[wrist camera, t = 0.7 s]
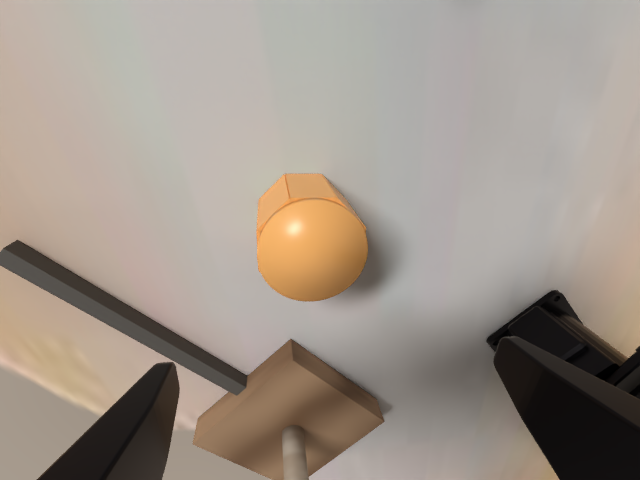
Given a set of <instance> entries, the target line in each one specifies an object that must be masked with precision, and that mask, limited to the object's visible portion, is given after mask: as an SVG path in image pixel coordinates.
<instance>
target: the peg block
mask: <svg viewBox="0 0 640 480" xmlns="http://www.w3.org/2000/svg"><path fill="white" fill-rule="evenodd" d="M383 422H384V419H383V416H382V413H381V410H380V408H379V405H378V402H377V399H376V398H374V397H373V396H371V395H370V394H368V393H367V392H366V391H364V390H363V389H361V388H360V387H358V386H357V385H356V384H354V383H353V382H351V381H350V380H348V379H347V378H346V377H344V376H343V375H341V374H340V373H339V372H337V371H336V370H334V369H333V368H331V367H330V366H329V365H327V364H326V363H324V362H323V361H321V360H320V359H319V358H317V357H316V356H314V355H313V354H311V353H310V352H309V351H307V350H306V349H304V348H303V347H302V346H300V345H299V344H297V343H296V342H294V341H293V340H292V339H290V340H289V341H288V342H287V343H286V344H284V345H283V346H282V347H281V348H280V349H279V350H277V351H276V352H275V353H274V354H273V355H272V356H270V357H269V358H268V359H267V360H266V361H265V362H263V363H262V364H261V365H260V366H259V367H257V368H256V369H255V370H254V371H253V372H252V373H250V374H249V375H248V376H247V387H246V388H245V389H244V390H243V391H242V392H241V393H240V394H238V395H237V396H236V395H234V394H233V393H231V392H228V393H227V394H226V395H225V396H224V397H222V398H221V399H220V400H219V401H218V402H217V403H215V404H214V405H213V406H212V407H211V408H210V409H208V410H207V411H206V412H205V413H204V414H203V415H201V416H200V417H199V418H198V421H197V425H196V430H195V435H194V440H193V445H196V446H198V447H200V448H202V449H205V450H207V451H209V452H211V453H214V454H216V455H218V456H220V457H223V458H225V459H227V460H229V461H232V462H234V463H236V464H238V465H241V466H243V467H245V468H247V469H250V470H252V471H254V472H256V473H259V474H261V475H263V476H265V477H268V478H270V479H272V480H309V476H311V475H312V474H313V473H315V472H316V471H317V470H319V469H320V468H322V467H323V466H324V465H326V464H327V463H328V462H330V461H331V460H332V459H334V458H335V457H337V456H338V455H339V454H341V453H342V452H343V451H345V450H346V449H348V448H349V447H350V446H352V445H353V444H354V443H356V442H357V441H358V440H360V439H361V438H363V437H364V436H365V435H367V434H368V433H369V432H371V431H372V430H374V429H375V428H376V427H378V426H379V425H380V424H382V423H383Z"/></svg>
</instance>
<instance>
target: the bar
mask: <svg viewBox="0 0 640 480" xmlns="http://www.w3.org/2000/svg"><path fill="white" fill-rule="evenodd" d="M0 266H2V267H4V268H6V269H8V270H9V271H11V272H13V273H15V274H17V275H19V276H20V277H22V278H24V279H26V280H28V281H29V282H31V283H33V284H35V285H37V286H39V287H40V288H42V289H44V290H46V291H48V292H49V293H51V294H53V295H55V296H57V297H58V298H60V299H62V300H64V301H66V302H68V303H69V304H71V305H73V306H75V307H77V308H78V309H80V310H82V311H84V312H86V313H87V314H89V315H91V316H93V317H95V318H97V319H98V320H100V321H102V322H104V323H106V324H107V325H109V326H111V327H113V328H115V329H117V330H118V331H120V332H122V333H124V334H126V335H127V336H129V337H131V338H133V339H135V340H136V341H138V342H140V343H142V344H144V345H146V346H147V347H149V348H151V349H153V350H155V351H156V352H158V353H160V354H162V355H164V356H166V357H167V358H169V359H171V360H173V361H175V362H176V363H178V364H180V365H182V366H184V367H185V368H187V369H189V370H191V371H193V372H195V373H196V374H198V375H200V376H202V377H204V378H205V379H207V380H209V381H211V382H213V383H214V384H216V385H218V386H220V387H222V388H224V389H225V390H227V391H229V392H231V393H233V394H234V395H236V396H237V395H238V394H240V393H241V392H242V391H243V390H244V389H245V388H246V387H247V376H246V375H244V374H242V373H241V372H239V371H237V370H236V369H234V368H232V367H231V366H229V365H227V364H226V363H224V362H222V361H220V360H219V359H217V358H215V357H214V356H212V355H210V354H209V353H207V352H205V351H204V350H202V349H200V348H199V347H197V346H195V345H193V344H192V343H190V342H188V341H187V340H185V339H183V338H182V337H180V336H178V335H177V334H175V333H173V332H172V331H170V330H168V329H166V328H165V327H163V326H161V325H160V324H158V323H156V322H155V321H153V320H151V319H150V318H148V317H146V316H145V315H143V314H141V313H139V312H138V311H136V310H134V309H133V308H131V307H129V306H128V305H126V304H124V303H123V302H121V301H119V300H117V299H116V298H114V297H112V296H111V295H109V294H107V293H106V292H104V291H102V290H101V289H99V288H97V287H96V286H94V285H92V284H90V283H89V282H87V281H85V280H84V279H82V278H80V277H79V276H77V275H75V274H74V273H72V272H70V271H69V270H67V269H65V268H63V267H62V266H60V265H58V264H57V263H55V262H53V261H52V260H50V259H48V258H47V257H45V256H43V255H42V254H40V253H38V252H36V251H35V250H33V249H31V248H30V247H28V246H26V245H25V244H23V243H21V242H20V241H18V240H16V241H15V242H13V243H11V244H10V245H8V246H6V247H5V248H3V249H2V251H1V252H0Z"/></svg>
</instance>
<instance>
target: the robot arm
mask: <svg viewBox="0 0 640 480" xmlns="http://www.w3.org/2000/svg"><path fill="white" fill-rule="evenodd" d="M487 343H488V344H489V346H490V347H491V348H492V349H493V350H494V351H495V352H496V353H495V356H494V365H495V368H496V370H497V372H498V374H499V376H500V378H501V380H502V382H503V384H504V386H505V388H506V389H507V391H508V393H509V395H510V397H511V399H512V401H513V403H514V405H515V407H516V409H517V411H518V413H519V415H520V416H521V418H522V420H523V422H524V423H525V425H526V427H527V428H528V430H529V431H530V433H531V435H532V436H533V438H534V439H535V441H536V443H537V444H538V446H539V447H540V449H541V451H542V452H543V454H544V455H545V457H546V458H547V460H548V462H549V463H550V465H551V466H552V468H553V470H554V471H555V473H556V474H557V476H558V478H559V479H560V480H640V346H639V347H638V348H637V349H636V352H635V353H634V354H633V355H632V356H631V357H630V358H627V357H625V356H624V355H623V354H621V353H620V352H619V351H617V350H616V349H615V348H613V347H612V346H611V345H609V344H608V343H607V342H605V341H604V340H603V339H601V338H600V337H599V336H597V335H596V334H595V333H593V332H592V331H591V330H589V329H588V328H587V327H585V326H584V325H583V324H582V322H581V321H580V319H579V318H578V316H577V315H576V313H575V312H574V310H573V309H572V307H571V306H570V304H569V303H568V301H567V300H566V298H565V297H564V295H563V294H562V293H560V292H559V291H557V290H553V291H551V292H550V293H548V294H547V295H545V296H544V297H543V298H541V299H540V300H539V301H537V302H536V303H535V304H533V305H532V306H531V307H529V308H528V309H526V310H525V311H524V312H522V313H521V314H520V315H518V316H517V317H516V318H514V319H513V320H512V321H510V322H509V323H507V324H506V325H505V326H503V327H502V328H501V329H499V330H498V331H497V332H495V333H494V334H492V335H491V336H490V337H489V338H488V339H487ZM178 398H179V381H178V376H177V371H176V366H175V364H174V363H173V362H164V363H157V364H155V365H154V366H153V367H152V368H151V369H150V370H149V371H148V372H147V373H146V374H145V375H144V376H143V377H142V378H140V379H139V380H138V381H137V382H136V383H135V384H134V385H133V386H132V387H131V388H130V389H129V390H128V391H127V392H126V393H125V394H124V395H123V396H122V397H121V398H120V399H119V400H118V401H117V402H116V403H115V404H114V405H113V406H112V407H111V408H110V409H109V410H108V411H107V412H106V413H105V414H104V415H103V416H102V417H100V418H99V419H98V420H97V421H96V422H95V423H94V424H93V425H92V426H91V427H90V428H89V429H88V430H87V431H86V432H85V433H84V434H83V435H82V436H81V437H80V438H79V439H78V440H77V441H76V442H75V443H74V444H73V445H72V446H71V447H70V448H69V449H68V450H67V451H66V452H65V453H64V454H63V455H62V456H60V457H59V459H57V460H56V461H55V462H54V463H53V464H52V465H51V466H50V467H49V468H48V469H47V470H46V471H45V472H44V473H43V474H42V475H41V476H40V477H39V478H38V479H37V480H162V477H163V473H164V470H165V466H166V462H167V458H168V453H169V448H170V442H171V437H172V431H173V426H174V420H175V415H176V409H177V404H178Z"/></svg>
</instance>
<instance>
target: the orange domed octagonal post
mask: <svg viewBox="0 0 640 480" xmlns="http://www.w3.org/2000/svg"><path fill="white" fill-rule="evenodd" d="M367 254H368V243H367V238H366V227H365V225H364V224H363V223H362V221H361V220H360V218H359V217H358V216H357V214H356V213H355V211H354V210H353V209H352V207H351V206H350V204H349V203H348V202H347V200H346V199H345V198H344V197H343V196H342V195H341V194H340V192H339V191H338V190H337V189H336V188H335V187H334V186H333V185H332V184H331V183H330V182H329V181H328V180H327V179H326V178H325V177H324V176H323V175H322V174H285V175H283V176H282V177H281V178H280V179H279V180H278V181H277V182H276V183H275V184H274V185H273V186H272V187H271V188H270V189H269V190H268V191H267V192H266V193H265V194H264V195H263V196H262V197H261V198H260V199H259V203H258V217H257V260H258V270H259V272H261V274H262V276H263V278H264V279H265V281H266V282H267V283H268V284H269V285H270V287H272V288H273V289H274V290H275V291H277V292H278V293H280V294H281V295H283V296H285V297H288V298H291V299H294V300H298V301H319V300H324V299H327V298H330V297H333V296H335V295H337V294H339V293H341V292H343V291H344V290H345V289H347V288H348V287H349V286H350V285H351V284H352V283H354V281H355V280H356V279H357V278H358V277H359V275H360V273H361V272H362V270H363V268H364V266H365V263H366V259H367Z"/></svg>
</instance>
